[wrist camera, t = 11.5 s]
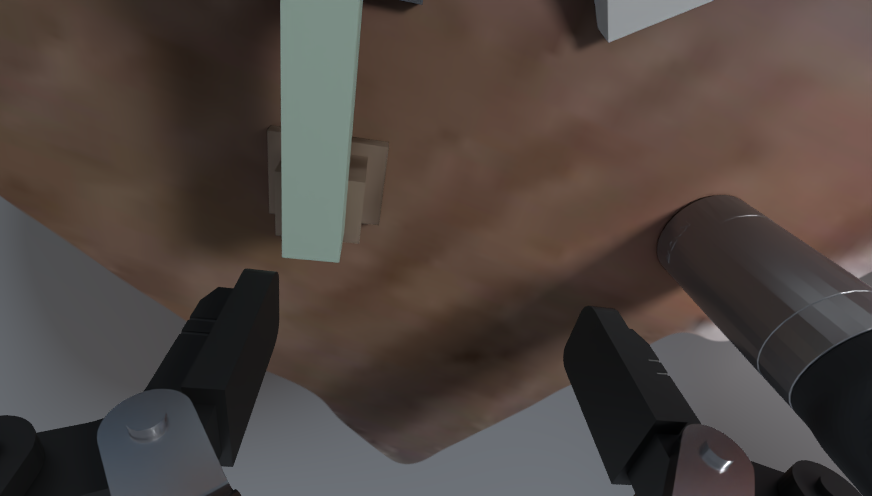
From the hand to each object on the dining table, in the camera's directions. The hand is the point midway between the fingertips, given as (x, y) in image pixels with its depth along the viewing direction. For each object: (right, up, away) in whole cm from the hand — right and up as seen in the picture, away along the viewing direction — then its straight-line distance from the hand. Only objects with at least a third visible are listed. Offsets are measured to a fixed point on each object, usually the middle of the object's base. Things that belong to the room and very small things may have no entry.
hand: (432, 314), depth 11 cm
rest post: (-9, +8, +24) cm, 27 cm away
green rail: (-6, +13, +14) cm, 20 cm away
